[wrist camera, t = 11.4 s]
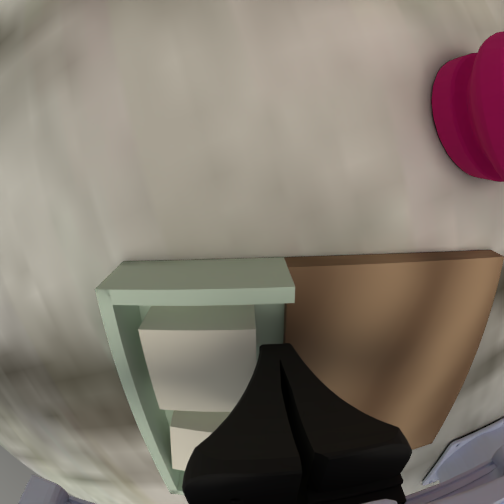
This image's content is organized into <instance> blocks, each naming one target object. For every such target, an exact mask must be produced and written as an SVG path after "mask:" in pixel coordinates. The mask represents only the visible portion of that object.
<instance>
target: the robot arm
mask: <svg viewBox="0 0 504 504" xmlns="http://www.w3.org/2000/svg"><path fill="white" fill-rule="evenodd" d="M411 454H412V449H411V447H410V445H409V443H408V441H407V439H406V437H405V435H404V434H403V433H402V431H401V430H400V428H399V427H397V426H394V425H391V424H388V423H386V422H383V421H380V420H378V419H376V418H374V417H372V416H369V415H367V414H365V413H364V412H362V411H360V410H358V409H357V408H355V407H353V406H352V405H350V404H348V403H347V402H345V401H344V400H343V399H341V398H340V397H339V396H337V395H336V394H335V393H334V392H332V391H331V390H330V389H329V388H328V387H327V386H326V385H325V384H324V383H323V382H322V381H321V380H320V379H319V378H318V377H317V376H316V375H315V374H314V373H313V372H312V371H311V370H310V369H309V367H308V366H307V365H306V364H305V363H304V361H303V360H302V359H301V357H300V356H299V355H298V353H297V352H296V350H295V349H294V347H293V346H292V345H291V344H290V343H283V344H262V345H261V346H260V347H259V357H258V361H257V364H256V367H255V370H254V372H253V375H252V377H251V379H250V382H249V384H248V386H247V388H246V390H245V391H244V393H243V395H242V397H241V398H240V400H239V401H238V403H237V404H236V406H235V407H234V409H233V410H232V411H231V413H230V414H229V415H228V417H227V418H226V419H225V420H224V421H223V422H222V423H221V424H220V425H219V427H218V428H217V429H216V430H215V431H214V432H213V433H212V434H211V435H210V436H208V437H207V438H206V439H205V440H204V441H202V442H201V443H200V444H199V445H198V446H196V447H195V448H194V450H193V452H192V454H191V456H190V458H189V461H188V463H187V466H186V469H185V472H184V477H183V484H182V490H183V493H184V495H185V497H186V499H187V501H188V503H189V504H504V418H503V419H501V420H499V421H497V422H495V423H493V424H491V425H489V426H487V427H485V428H483V429H481V430H479V431H477V432H474V433H472V434H470V435H468V436H465V437H463V438H461V439H458V440H456V441H454V442H452V443H451V444H450V445H449V446H448V448H447V449H446V450H445V452H444V453H443V455H442V456H441V458H440V459H439V461H438V462H437V463H436V465H435V466H434V467H433V469H432V470H431V472H430V473H429V474H428V475H427V477H426V478H425V479H424V481H423V482H422V484H423V485H427V484H430V483H432V482H435V481H437V480H439V481H440V483H439V484H437V485H434V486H432V487H429V488H427V489H424V490H422V491H419V492H416V493H413V494H410V495H407V496H405V495H404V492H403V489H402V487H401V484H402V483H403V479H402V477H401V474H400V473H401V472H402V470H403V468H404V467H405V465H406V464H407V462H408V461H409V459H410V456H411ZM18 504H95V503H92V502H88V501H85V500H82V499H79V498H76V497H73V496H69V495H68V493H67V492H66V491H65V490H64V489H63V488H62V487H61V486H59V485H58V484H56V483H54V482H51V481H49V480H46V479H44V478H41V477H39V476H36V475H31V477H30V479H29V481H28V483H27V485H26V488H25V490H24V492H23V494H22V496H21V498H20V501H19V503H18Z"/></svg>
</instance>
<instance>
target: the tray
mask: <svg viewBox="0 0 504 504" xmlns="http://www.w3.org/2000/svg"><path fill="white" fill-rule="evenodd" d="M95 292H96V296H97V301H98V305H99V309H100V313H101V317H102V321H103V325H104V328H105V332H106V336H107V339H108V343H109V346H110V349H111V353H112V356H113V359H114V362H115V365H116V368H117V371H118V374H119V377H120V380H121V383H122V386H123V389H124V392H125V394H126V397H127V400H128V402H129V405H130V408H131V410H132V413H133V415H134V418H135V420H136V423H137V425H138V427H139V430H140V432H141V434H142V437H143V439H144V441H145V443H146V446H147V448H148V450H149V452H150V454H151V456H152V459H153V461H154V463H155V465H156V467H157V469H158V471H159V473H160V475H161V477H162V479H163V481H164V482H165V484H166V486H167V488H168V490H169V492H170V493H171V494H181V495H184V493H183V490H182V484H183V477H184V472H185V471H183V470H177V469H173V468H172V455H171V438H170V424H171V420H172V415H173V411H174V410H163V409H160V408H159V405H158V402H157V399H156V395H155V392H154V389H153V385H152V382H151V378H150V375H149V371H148V367H147V364H146V360H145V356H144V352H143V348H142V344H141V340H140V336H139V331H138V329H139V327H140V325H141V323H142V321H143V320H144V318H145V316H146V314H147V312H148V311H149V309H150V307H151V306H216V305H254V311H255V324H256V359H257V361H258V357H259V347H260V346H261V345H262V344H283V335H284V303H295V285H294V282H293V280H292V277H291V274H290V272H289V269H288V267H287V264H286V262H285V259H284V257H276V258H242V259H204V260H165V261H123V262H122V263H121V264H120V265H119V266H118V267H117V268H116V269H115V270H114V271H113V272H112V273H111V274H110V275H109V276H108V277H107V278H106V279H105V280H104V281H103V282H102V283H101V284H100V285H99V286H98V287H97V288H96V289H95Z"/></svg>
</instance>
